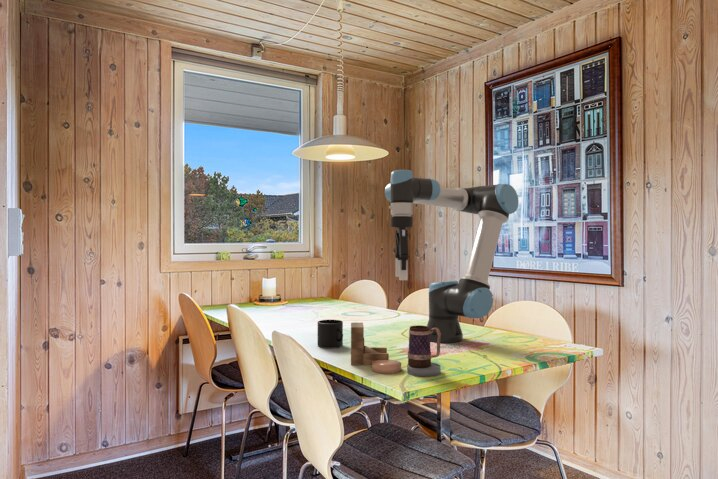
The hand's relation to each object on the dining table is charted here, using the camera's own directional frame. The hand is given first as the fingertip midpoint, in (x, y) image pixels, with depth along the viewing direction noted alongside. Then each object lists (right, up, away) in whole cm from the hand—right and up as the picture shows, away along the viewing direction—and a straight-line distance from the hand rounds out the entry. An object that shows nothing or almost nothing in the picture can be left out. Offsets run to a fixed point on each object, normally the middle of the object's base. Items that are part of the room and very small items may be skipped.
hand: (401, 278), depth 170 cm
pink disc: (-6, -27, -16) cm, 32 cm away
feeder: (-11, -27, -6) cm, 29 cm away
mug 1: (-24, -27, +17) cm, 40 cm away
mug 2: (+5, -25, -20) cm, 32 cm away
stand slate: (+5, -27, -19) cm, 33 cm away
